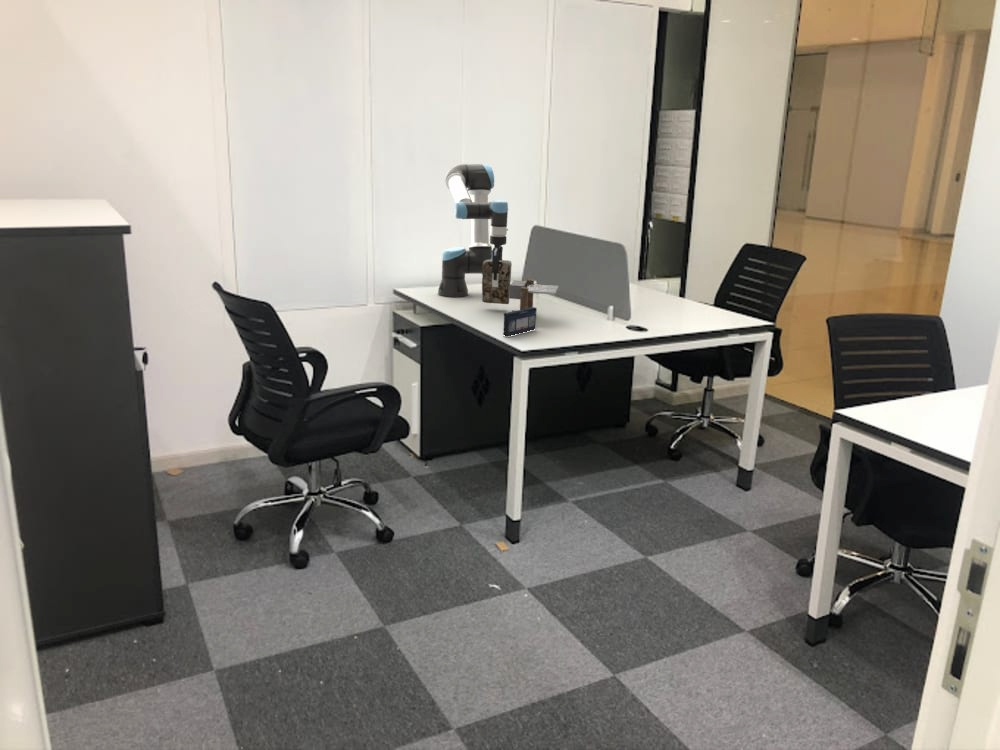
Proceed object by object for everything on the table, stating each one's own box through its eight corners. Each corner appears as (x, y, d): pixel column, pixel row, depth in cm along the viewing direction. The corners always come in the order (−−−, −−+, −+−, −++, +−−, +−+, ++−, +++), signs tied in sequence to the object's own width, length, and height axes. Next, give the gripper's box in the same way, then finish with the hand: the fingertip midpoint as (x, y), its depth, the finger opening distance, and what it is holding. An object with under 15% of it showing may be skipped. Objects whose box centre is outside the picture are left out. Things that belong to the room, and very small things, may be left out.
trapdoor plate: (508, 299, 351) (509, 285, 349) (514, 292, 366) (514, 279, 364) (554, 302, 348) (554, 289, 346) (557, 295, 363) (558, 282, 361)
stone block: (509, 301, 377) (511, 259, 370) (509, 305, 370) (511, 262, 363) (481, 300, 377) (483, 258, 370) (480, 304, 370) (482, 261, 364)
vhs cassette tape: (507, 337, 327) (508, 314, 324) (502, 336, 329) (502, 312, 326) (536, 330, 340) (537, 308, 337) (531, 329, 342) (532, 306, 339)
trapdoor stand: (504, 323, 350) (505, 287, 345) (512, 311, 373) (513, 277, 368) (529, 325, 349) (530, 289, 344) (535, 313, 371) (537, 279, 366)
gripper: (503, 239, 354) (500, 290, 361) (509, 233, 372) (507, 281, 379) (486, 237, 355) (484, 288, 363) (493, 231, 373) (491, 280, 380)
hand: (496, 285), depth 371 cm, fingers closed on stone block, 6 cm apart
